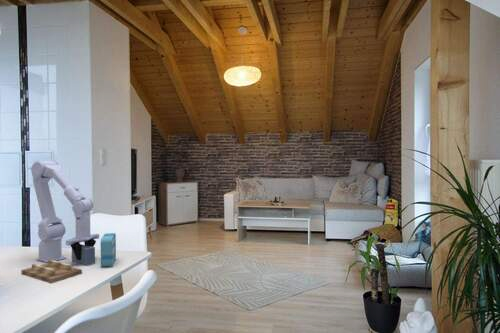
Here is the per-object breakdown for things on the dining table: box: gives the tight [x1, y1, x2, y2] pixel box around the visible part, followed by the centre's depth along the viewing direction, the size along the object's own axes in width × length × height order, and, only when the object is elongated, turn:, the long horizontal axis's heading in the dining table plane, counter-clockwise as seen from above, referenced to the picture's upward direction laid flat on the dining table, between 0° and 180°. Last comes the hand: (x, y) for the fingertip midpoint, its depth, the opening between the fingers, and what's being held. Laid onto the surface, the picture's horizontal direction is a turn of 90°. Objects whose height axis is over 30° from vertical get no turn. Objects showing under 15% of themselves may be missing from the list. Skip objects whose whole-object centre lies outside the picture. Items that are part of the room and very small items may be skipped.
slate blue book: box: [71, 244, 96, 267], centre depth 149 cm, size 10×4×7 cm, turn 61°
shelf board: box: [20, 260, 83, 284], centre depth 135 cm, size 20×12×4 cm, turn 61°
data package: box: [100, 232, 117, 268], centre depth 148 cm, size 12×4×12 cm, turn 15°
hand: (83, 258), depth 149 cm, fingers closed on slate blue book, 4 cm apart
